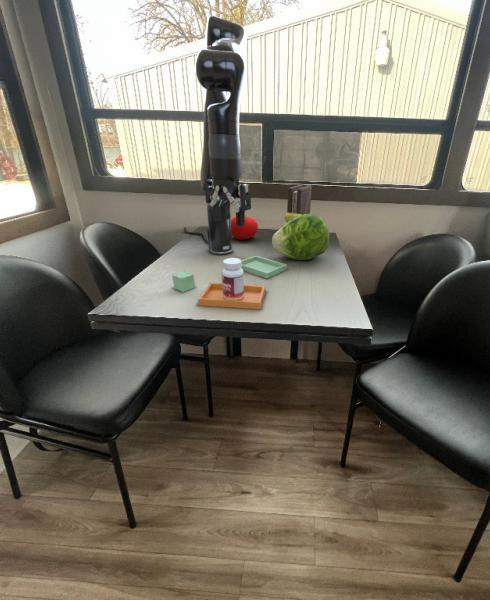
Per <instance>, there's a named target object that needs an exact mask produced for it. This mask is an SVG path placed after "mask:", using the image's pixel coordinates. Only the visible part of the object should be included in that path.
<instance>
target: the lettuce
mask: <svg viewBox="0 0 490 600" xmlns="http://www.w3.org/2000/svg"><path fill="white" fill-rule="evenodd" d="M271 238H272V239H271V240H272V241H271V242H272V243H271V244H272V246H273V250H274V251H276V253H277V254H279V255H281V256H283V257H286V258H288V259H291V260H296V261H309V260H313V259H314V258H316V257H318V256H320V255H322V254H324V253H325V252H326V250H327V249H328V247H329V244H330V231H329V227H328V225H327V223H326V221H325V220H324V218H322V217H321V216H319V215H317V214H314V213H310V214H304V215H300V216H297V217H295V218H293V219H291V220H290V221H288V222H287V221H286V222H285V223H284V225H282V226H281V228H279V229H278V230H276V232H275V233H274V234H273V235H272V237H271Z"/></svg>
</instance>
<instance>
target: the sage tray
mask: <svg viewBox="0 0 490 600" xmlns="http://www.w3.org/2000/svg"><path fill="white" fill-rule="evenodd" d="M240 260H241V259H240ZM241 262H242V267H241V268H242V270H243V272H247V273H249V274H253V275H256V276H259V277H261V278H265V279H269V278H272V277H273V276H276V275H279V274H280V273H282V272H284V271H287V269H288V268H287V267H288V264H286V263H282V262H279V261H276V260H273V259H269V258H266V257H263V256H260V255H253V256H250V257H247V258H244V259H242V260H241Z"/></svg>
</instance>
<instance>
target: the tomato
mask: <svg viewBox="0 0 490 600" xmlns="http://www.w3.org/2000/svg"><path fill="white" fill-rule="evenodd" d="M258 230H259V225H258V222H257V221H256V220H255V219H254V218H252V217H250V216H246V215H245V224H244V226H241V227H237V226H236V216H233V217H231V234H232V237H233V238H234V239H236V240H239V241H245V240H248V239H251V238H253V237H254V236H255V235H256V234H257V232H258Z"/></svg>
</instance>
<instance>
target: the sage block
mask: <svg viewBox="0 0 490 600" xmlns="http://www.w3.org/2000/svg"><path fill="white" fill-rule="evenodd" d="M172 283H173V289H175V290H177V291H180V292H182V293H184V292H187V291H189V290H191V289H194V288H196V287H195V278H194V274H193V273H191V272H188V271H186V270H182V271H179V272H177V273H174V274H172Z"/></svg>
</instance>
